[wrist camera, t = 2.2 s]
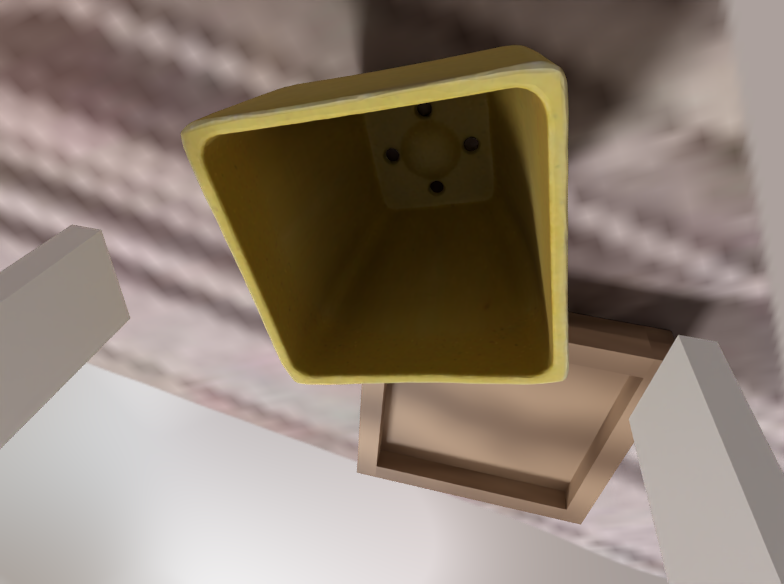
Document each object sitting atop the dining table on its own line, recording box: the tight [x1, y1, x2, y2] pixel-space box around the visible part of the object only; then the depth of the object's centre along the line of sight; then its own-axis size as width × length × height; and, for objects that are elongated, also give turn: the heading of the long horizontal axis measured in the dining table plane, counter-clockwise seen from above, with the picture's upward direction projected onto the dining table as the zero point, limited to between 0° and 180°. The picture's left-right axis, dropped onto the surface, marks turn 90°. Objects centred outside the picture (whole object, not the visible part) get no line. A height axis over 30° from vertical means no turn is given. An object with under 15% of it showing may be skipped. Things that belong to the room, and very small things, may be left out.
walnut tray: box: [357, 312, 675, 524], centre depth 27 cm, size 14×14×2 cm
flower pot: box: [181, 45, 569, 385], centre depth 16 cm, size 9×9×9 cm
